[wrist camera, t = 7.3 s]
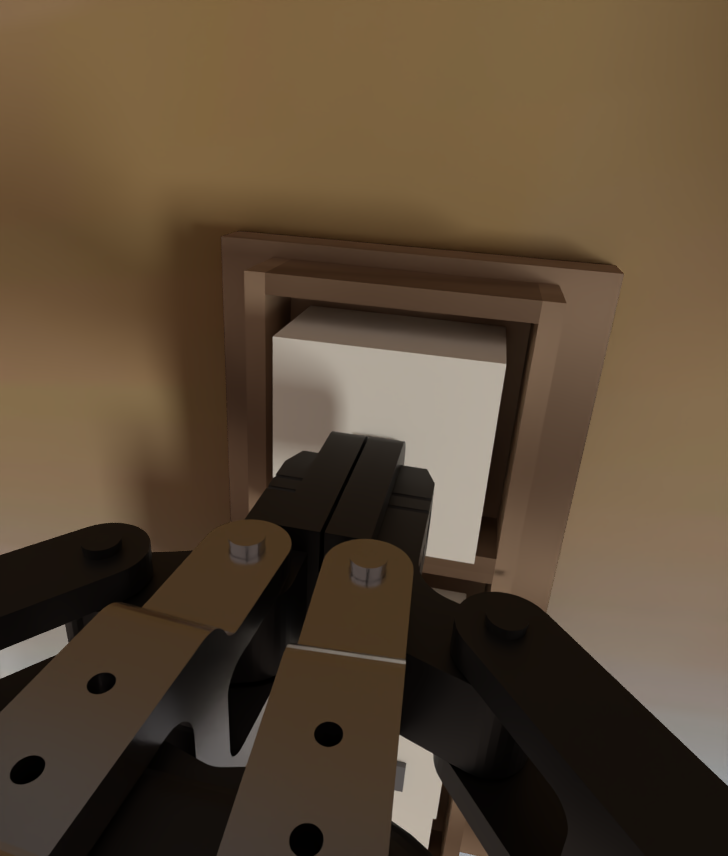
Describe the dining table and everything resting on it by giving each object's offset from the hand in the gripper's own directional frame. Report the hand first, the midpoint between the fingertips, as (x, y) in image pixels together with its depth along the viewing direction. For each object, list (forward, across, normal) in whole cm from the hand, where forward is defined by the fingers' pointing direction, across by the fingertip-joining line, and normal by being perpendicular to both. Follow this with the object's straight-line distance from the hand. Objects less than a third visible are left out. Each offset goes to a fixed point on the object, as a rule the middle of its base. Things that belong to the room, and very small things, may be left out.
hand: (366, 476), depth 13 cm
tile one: (+4, 0, 0) cm, 5 cm away
